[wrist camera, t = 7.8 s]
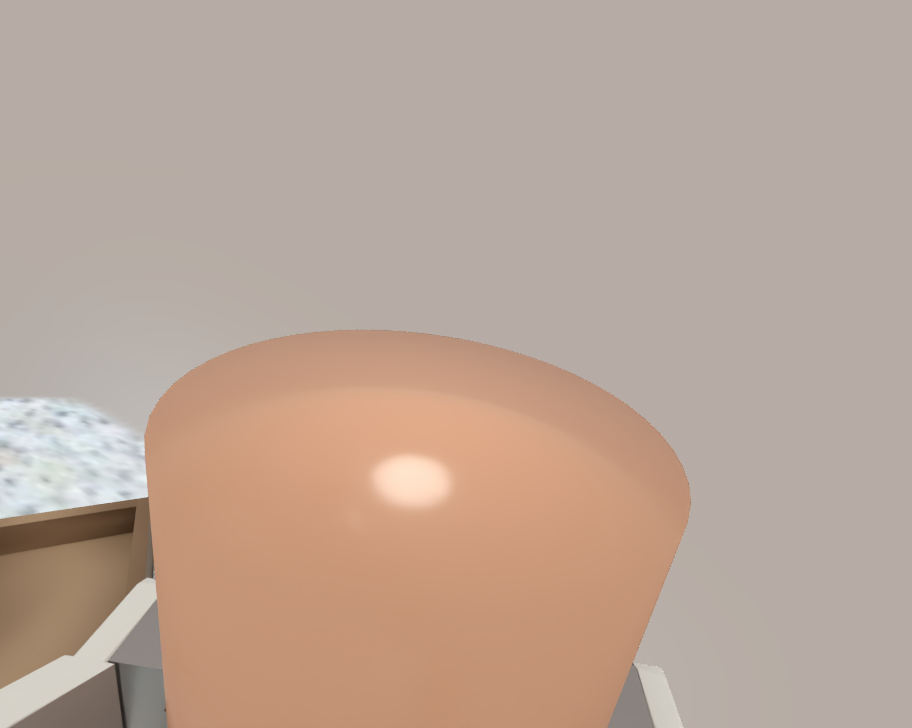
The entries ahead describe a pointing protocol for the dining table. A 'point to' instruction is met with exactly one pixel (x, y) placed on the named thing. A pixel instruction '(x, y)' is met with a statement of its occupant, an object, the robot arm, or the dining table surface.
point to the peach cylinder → (402, 536)
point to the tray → (66, 578)
